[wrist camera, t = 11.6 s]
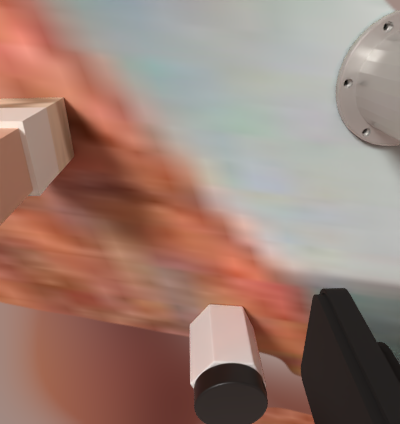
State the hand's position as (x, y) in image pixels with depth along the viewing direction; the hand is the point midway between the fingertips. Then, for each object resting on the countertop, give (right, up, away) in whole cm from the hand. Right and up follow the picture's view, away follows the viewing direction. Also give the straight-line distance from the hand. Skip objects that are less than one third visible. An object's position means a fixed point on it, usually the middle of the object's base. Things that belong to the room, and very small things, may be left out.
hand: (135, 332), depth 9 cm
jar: (+5, -13, +40) cm, 43 cm away
